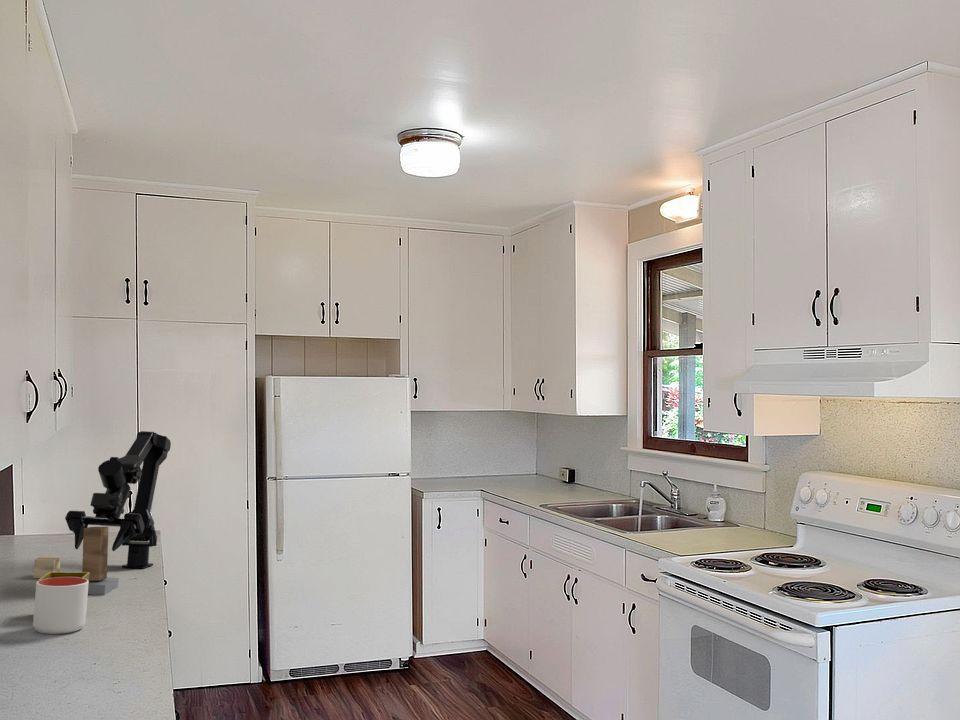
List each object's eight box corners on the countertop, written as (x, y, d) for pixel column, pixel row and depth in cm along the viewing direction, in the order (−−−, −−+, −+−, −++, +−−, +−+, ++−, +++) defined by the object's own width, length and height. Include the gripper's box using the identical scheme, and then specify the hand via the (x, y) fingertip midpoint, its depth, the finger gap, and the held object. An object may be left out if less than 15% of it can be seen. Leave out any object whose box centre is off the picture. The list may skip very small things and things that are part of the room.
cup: (21, 630, 180) (25, 581, 181) (64, 621, 189) (68, 574, 190) (53, 638, 176) (57, 588, 176) (95, 628, 184) (99, 581, 185)
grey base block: (82, 588, 224) (83, 576, 224) (117, 589, 224) (118, 577, 224) (67, 595, 215) (68, 583, 215) (104, 597, 215) (105, 584, 215)
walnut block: (89, 578, 222) (91, 527, 223) (106, 578, 222) (108, 526, 223) (81, 580, 217) (83, 528, 219) (99, 580, 217) (101, 527, 219)
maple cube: (39, 575, 235) (41, 556, 235) (59, 575, 235) (60, 557, 235) (32, 578, 230) (34, 559, 230) (52, 579, 230) (54, 560, 231)
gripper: (71, 479, 225) (48, 528, 213) (144, 482, 225) (125, 531, 214) (81, 506, 232) (59, 554, 220) (151, 509, 233) (134, 558, 221)
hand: (94, 549), depth 219 cm, fingers open, 9 cm apart
